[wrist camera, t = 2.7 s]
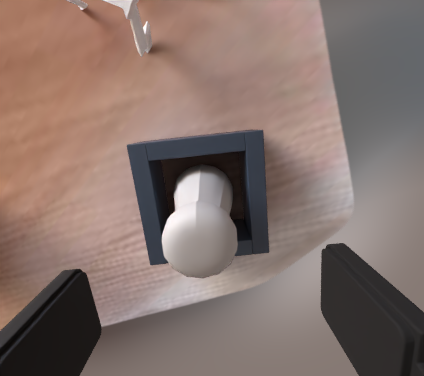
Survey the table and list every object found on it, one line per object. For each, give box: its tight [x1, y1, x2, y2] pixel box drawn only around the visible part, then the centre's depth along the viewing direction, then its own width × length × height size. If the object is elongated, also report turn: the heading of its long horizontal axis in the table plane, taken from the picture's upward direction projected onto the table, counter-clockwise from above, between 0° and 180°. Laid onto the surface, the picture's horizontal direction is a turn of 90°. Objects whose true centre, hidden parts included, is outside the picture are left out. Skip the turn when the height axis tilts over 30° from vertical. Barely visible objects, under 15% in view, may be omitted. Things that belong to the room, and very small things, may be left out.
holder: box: [127, 130, 269, 265], centre depth 22 cm, size 11×11×5 cm
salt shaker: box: [162, 164, 238, 278], centre depth 18 cm, size 6×6×13 cm
